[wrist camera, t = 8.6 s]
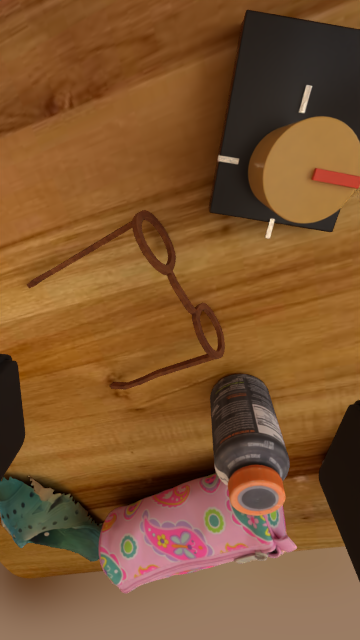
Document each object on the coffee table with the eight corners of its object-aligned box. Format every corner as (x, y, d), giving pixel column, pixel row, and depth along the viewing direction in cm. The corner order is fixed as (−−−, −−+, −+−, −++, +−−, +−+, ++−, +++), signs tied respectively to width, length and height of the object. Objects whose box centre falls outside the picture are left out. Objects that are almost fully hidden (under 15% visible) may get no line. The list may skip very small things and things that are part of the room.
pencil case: (260, 440, 36) (277, 524, 28) (289, 489, 39) (312, 575, 31) (104, 491, 41) (81, 573, 33) (141, 530, 45) (128, 612, 37)
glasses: (226, 333, 30) (231, 364, 25) (112, 385, 33) (99, 421, 29) (150, 203, 25) (140, 213, 20) (26, 280, 28) (-6, 304, 24)
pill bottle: (211, 417, 34) (216, 525, 24) (208, 372, 32) (213, 473, 22) (267, 416, 34) (296, 526, 24) (270, 370, 31) (304, 472, 21)
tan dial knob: (239, 201, 22) (251, 215, 17) (259, 118, 20) (281, 105, 15) (309, 214, 22) (341, 232, 17) (337, 133, 20) (384, 126, 15)
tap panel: (240, 21, 20) (245, 7, 18) (387, 47, 20) (407, 35, 18) (204, 222, 25) (205, 228, 23) (319, 241, 25) (329, 248, 23)
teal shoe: (81, 559, 49) (69, 600, 44) (-14, 478, 42) (-41, 517, 37) (131, 541, 46) (124, 583, 42) (38, 452, 40) (17, 490, 35)
